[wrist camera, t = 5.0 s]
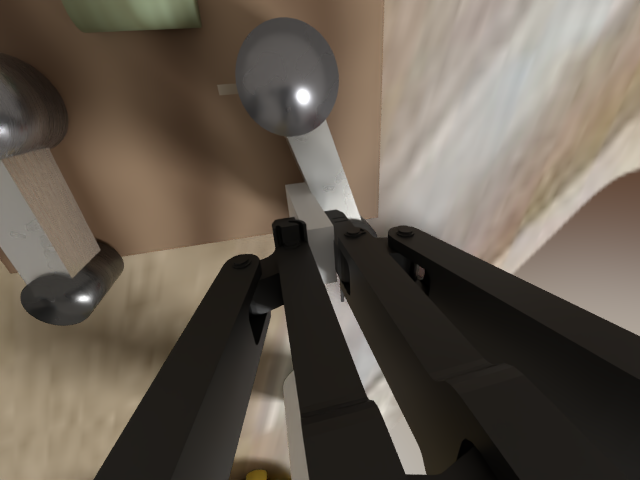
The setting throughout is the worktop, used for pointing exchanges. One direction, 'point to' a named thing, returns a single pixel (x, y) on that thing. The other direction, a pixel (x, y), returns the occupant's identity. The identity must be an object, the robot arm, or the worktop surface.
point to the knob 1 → (45, 205)
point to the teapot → (257, 475)
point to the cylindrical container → (294, 430)
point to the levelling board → (188, 112)
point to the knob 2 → (297, 103)
